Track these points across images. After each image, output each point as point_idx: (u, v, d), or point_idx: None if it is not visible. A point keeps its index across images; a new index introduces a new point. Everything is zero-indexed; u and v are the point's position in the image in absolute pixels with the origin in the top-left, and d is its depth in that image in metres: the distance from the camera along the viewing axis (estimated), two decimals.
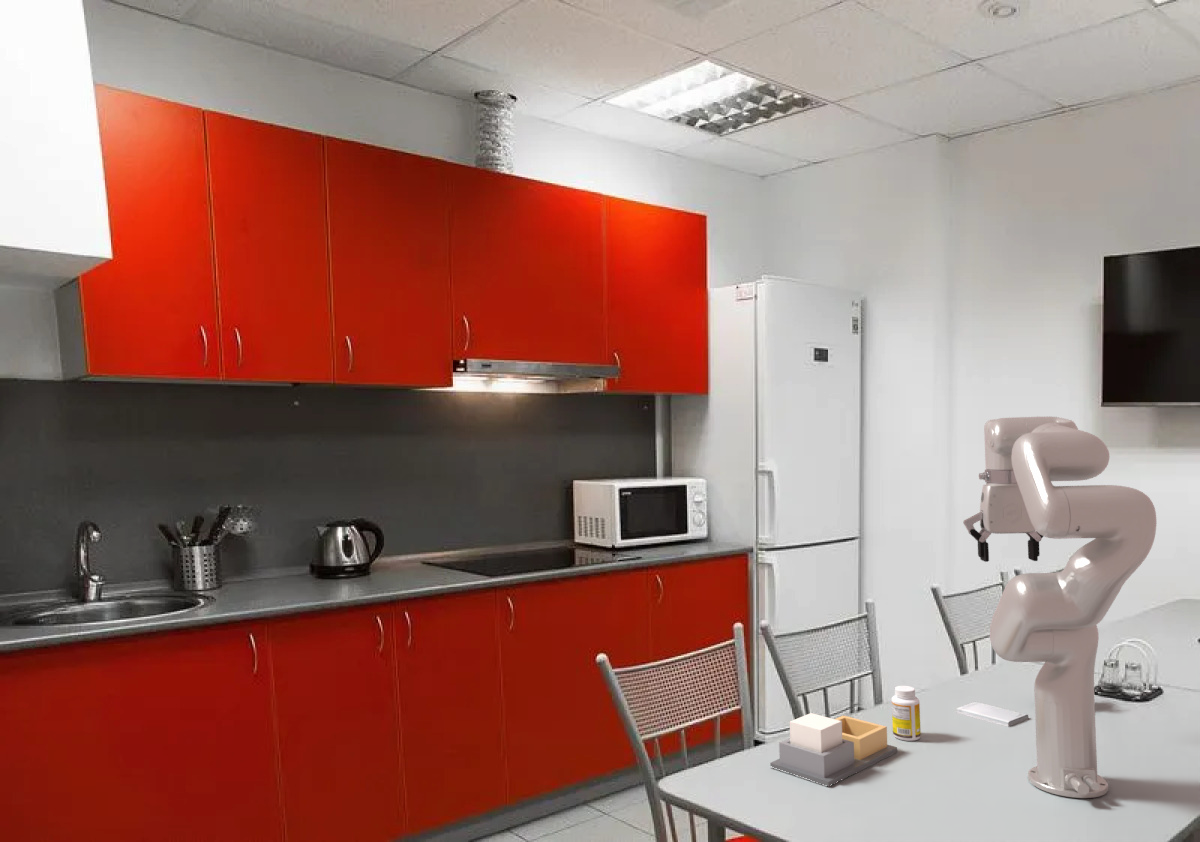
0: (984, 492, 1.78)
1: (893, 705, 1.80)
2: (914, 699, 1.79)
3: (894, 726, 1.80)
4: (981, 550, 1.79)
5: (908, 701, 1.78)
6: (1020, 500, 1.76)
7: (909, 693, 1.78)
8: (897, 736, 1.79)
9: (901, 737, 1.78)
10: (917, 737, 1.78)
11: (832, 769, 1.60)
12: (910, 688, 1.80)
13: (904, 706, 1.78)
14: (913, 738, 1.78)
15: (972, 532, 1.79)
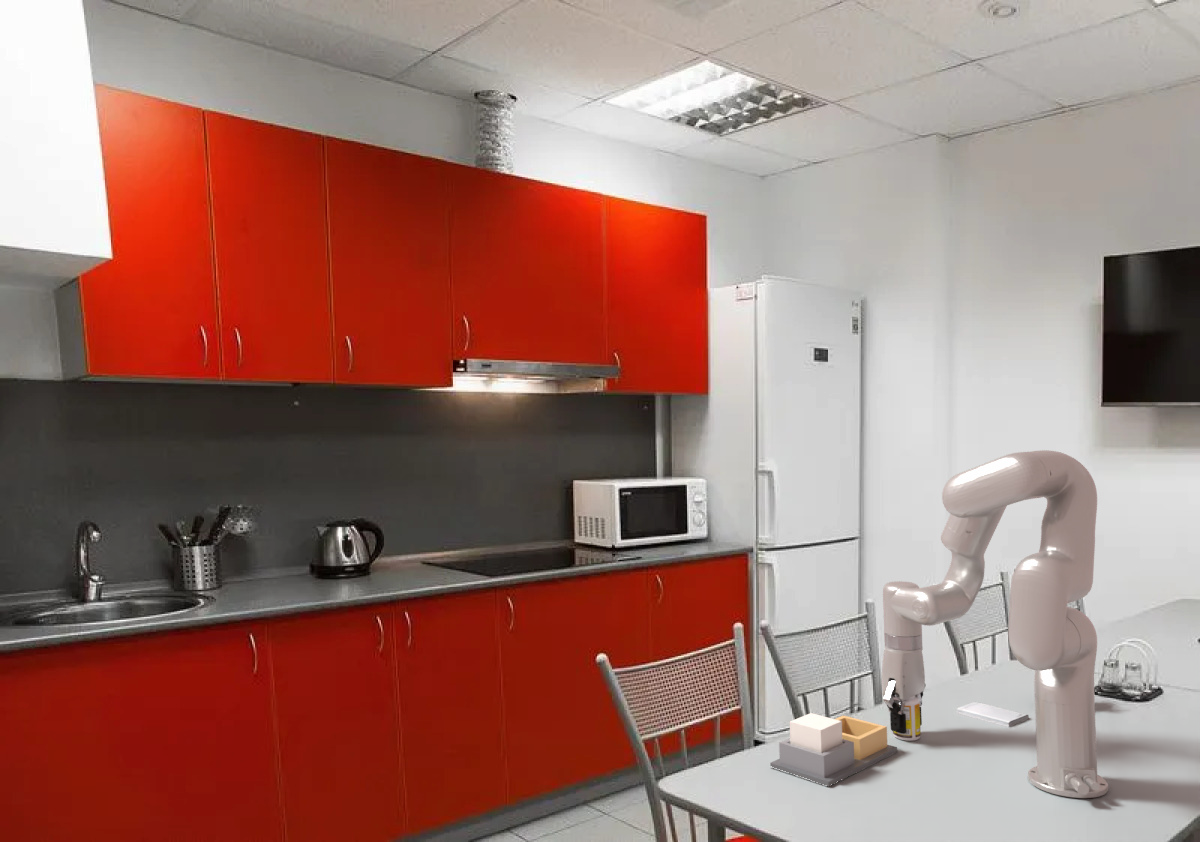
0: None
1: None
2: (914, 699, 1.79)
3: None
4: None
5: (908, 701, 1.78)
6: None
7: None
8: (897, 736, 1.79)
9: (901, 737, 1.78)
10: (917, 737, 1.78)
11: (832, 769, 1.60)
12: None
13: (904, 706, 1.78)
14: (913, 738, 1.78)
15: None
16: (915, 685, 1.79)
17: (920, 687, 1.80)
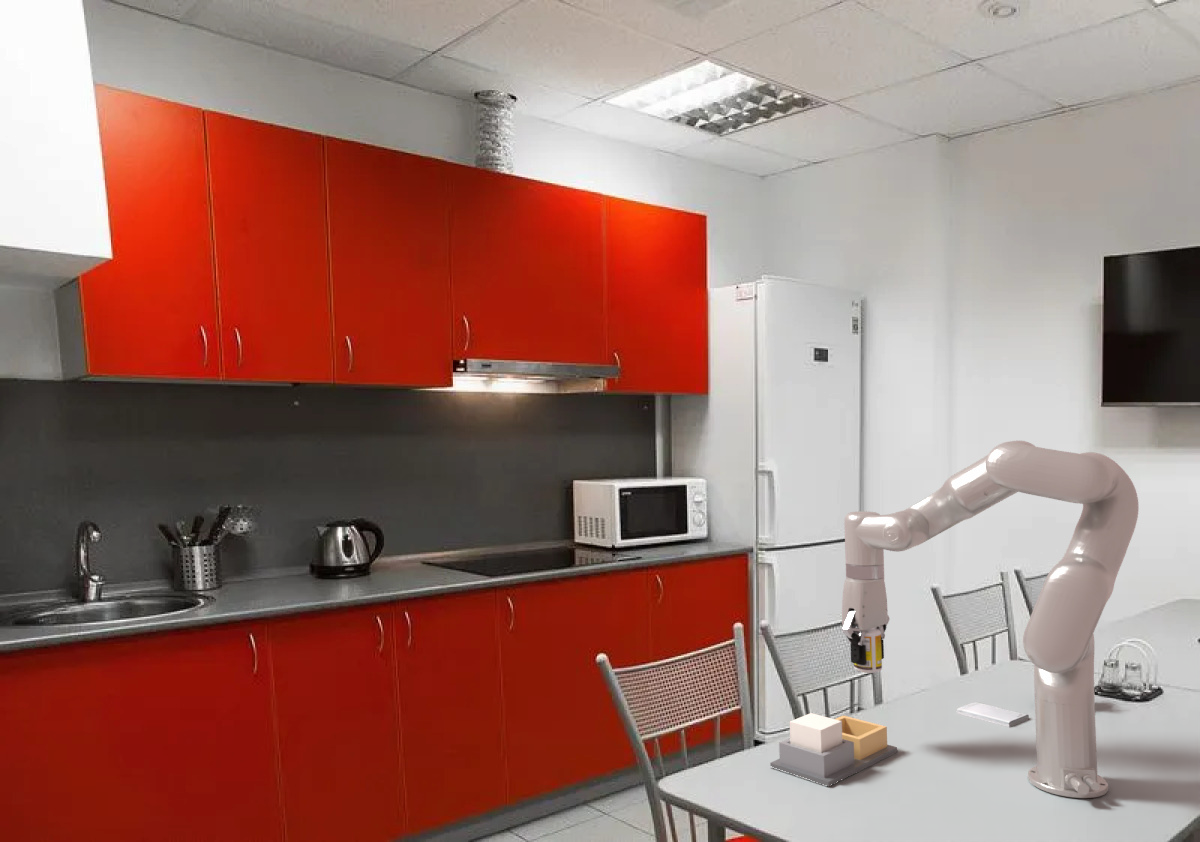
0: None
1: None
2: (875, 630, 1.75)
3: None
4: None
5: (868, 632, 1.74)
6: None
7: None
8: (857, 668, 1.75)
9: (861, 669, 1.74)
10: (878, 669, 1.74)
11: (832, 769, 1.60)
12: None
13: (864, 637, 1.73)
14: (873, 670, 1.73)
15: None
16: (876, 617, 1.74)
17: (882, 619, 1.76)
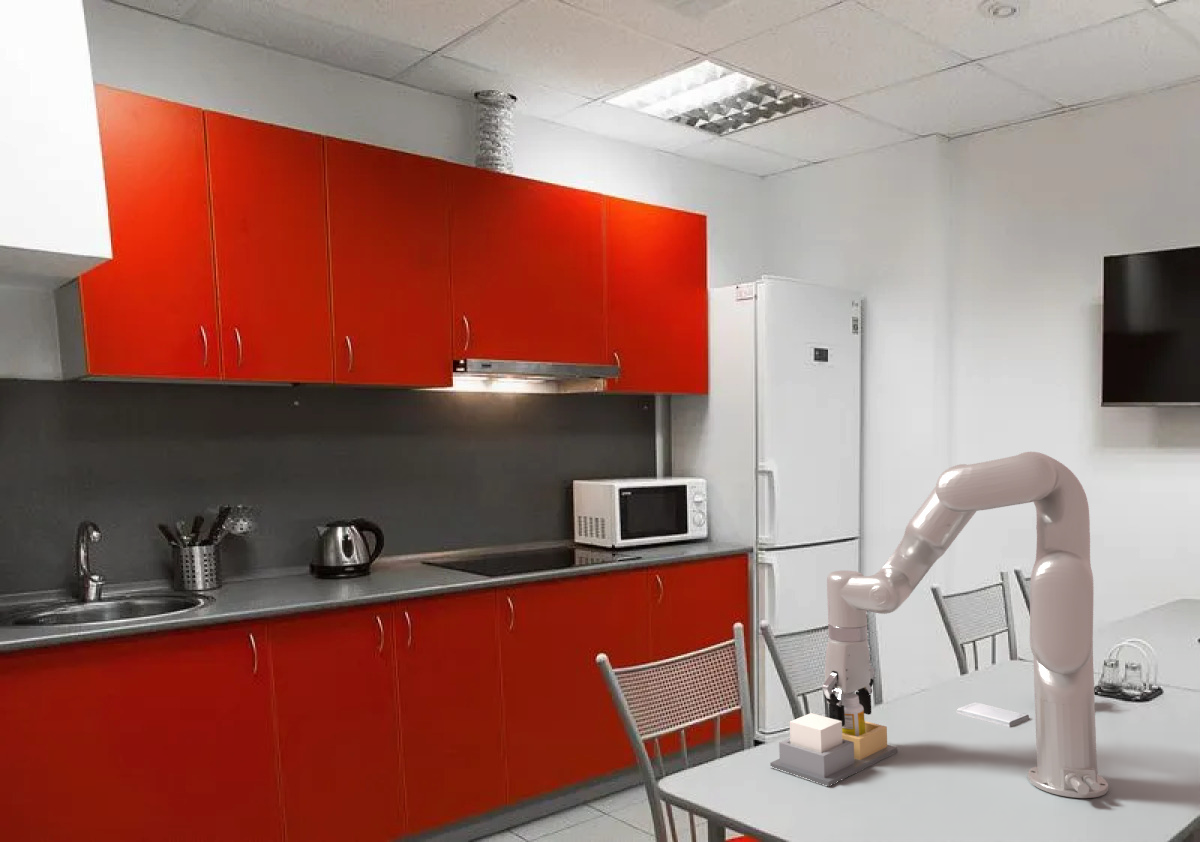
0: None
1: None
2: (858, 706, 1.71)
3: None
4: None
5: (851, 709, 1.71)
6: None
7: (852, 701, 1.71)
8: None
9: None
10: None
11: (832, 769, 1.60)
12: (854, 695, 1.73)
13: (846, 715, 1.70)
14: None
15: None
16: (859, 679, 1.72)
17: (865, 680, 1.73)
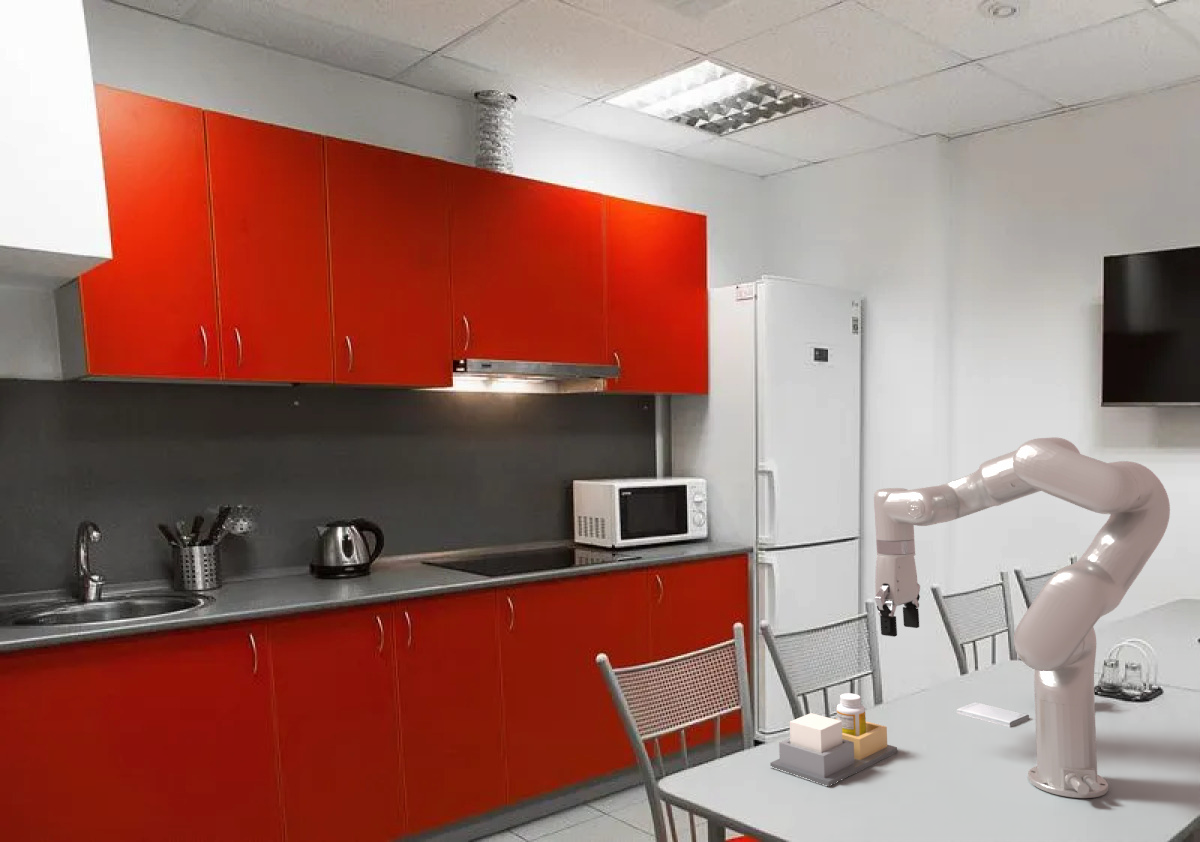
0: None
1: (837, 713, 1.72)
2: (859, 707, 1.71)
3: None
4: None
5: (852, 709, 1.70)
6: None
7: (854, 702, 1.71)
8: None
9: None
10: None
11: (832, 769, 1.60)
12: (856, 696, 1.73)
13: (847, 715, 1.70)
14: None
15: None
16: (909, 591, 1.76)
17: (914, 593, 1.78)
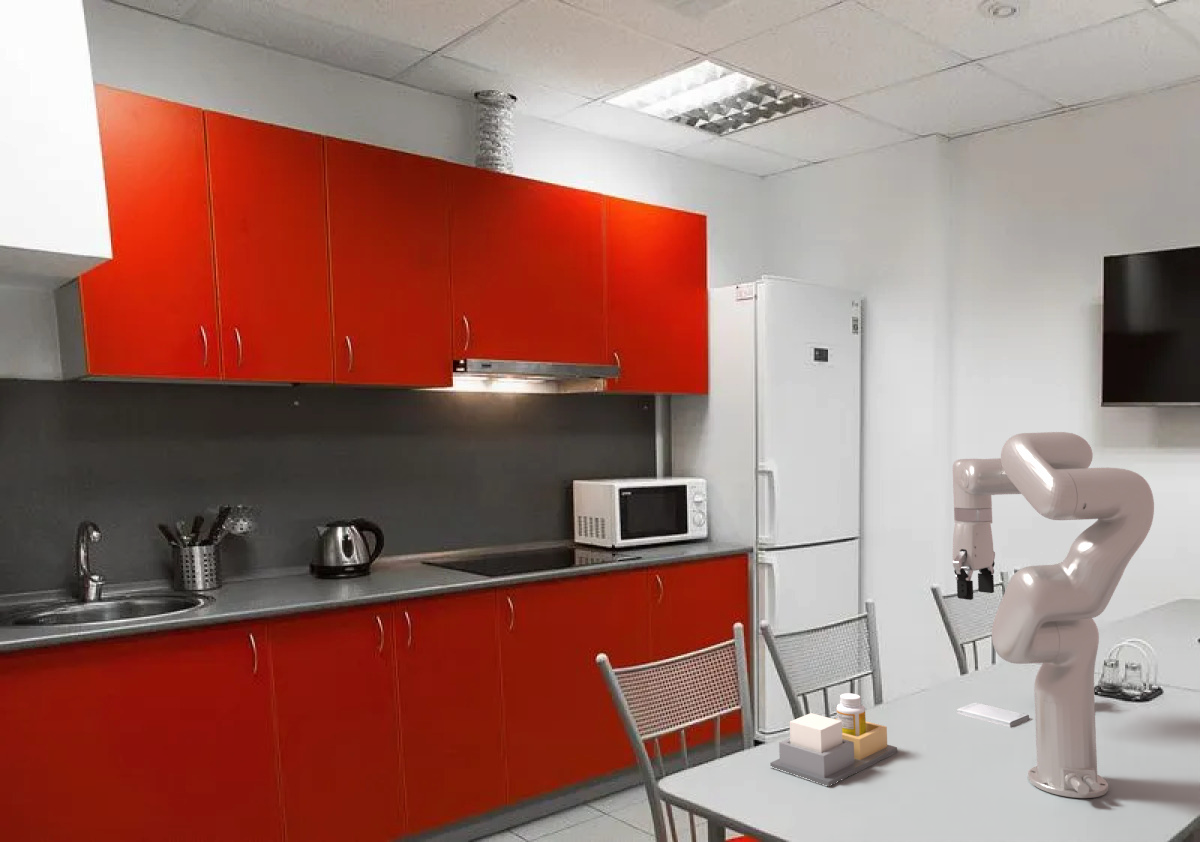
0: None
1: (837, 713, 1.73)
2: (859, 707, 1.71)
3: None
4: None
5: (852, 709, 1.71)
6: None
7: (854, 701, 1.71)
8: None
9: None
10: None
11: (832, 769, 1.60)
12: (856, 696, 1.73)
13: (847, 715, 1.70)
14: None
15: None
16: (985, 557, 1.84)
17: (990, 560, 1.85)
